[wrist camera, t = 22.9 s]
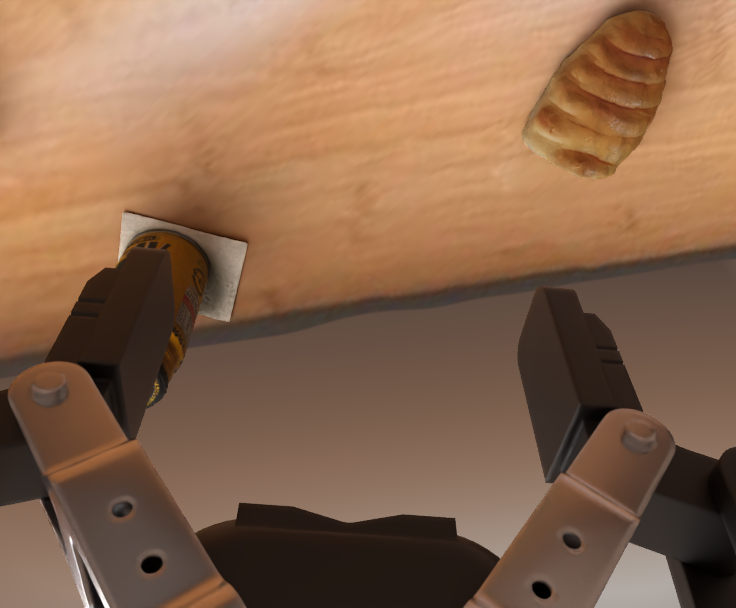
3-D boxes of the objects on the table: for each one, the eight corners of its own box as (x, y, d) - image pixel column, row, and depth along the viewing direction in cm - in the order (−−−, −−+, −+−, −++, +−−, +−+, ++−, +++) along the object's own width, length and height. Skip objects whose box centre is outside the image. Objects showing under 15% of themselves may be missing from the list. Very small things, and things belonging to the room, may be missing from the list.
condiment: (123, 210, 46) (60, 327, 37) (248, 241, 48) (217, 361, 39) (115, 292, 51) (57, 415, 42) (230, 318, 52) (198, 443, 43)
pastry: (590, -15, 37) (609, 6, 34) (696, 27, 39) (723, 50, 36) (511, 138, 43) (522, 167, 40) (606, 169, 44) (624, 200, 41)
